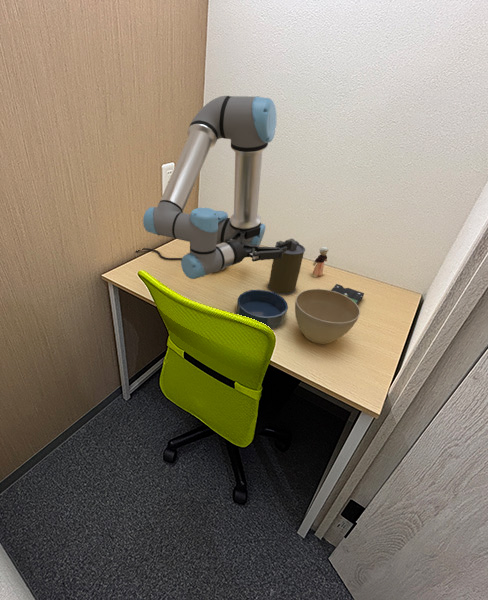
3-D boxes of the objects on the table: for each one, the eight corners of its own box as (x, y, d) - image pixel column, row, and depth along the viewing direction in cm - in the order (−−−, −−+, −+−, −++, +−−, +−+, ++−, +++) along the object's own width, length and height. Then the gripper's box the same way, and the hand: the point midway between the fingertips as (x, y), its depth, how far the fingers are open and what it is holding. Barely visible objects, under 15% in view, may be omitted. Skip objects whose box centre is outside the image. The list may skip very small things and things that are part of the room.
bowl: (229, 320, 114) (230, 308, 111) (244, 296, 126) (246, 285, 123) (278, 335, 107) (281, 323, 104) (289, 308, 119) (292, 297, 117)
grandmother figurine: (316, 279, 136) (324, 251, 129) (308, 276, 138) (315, 248, 131) (326, 273, 140) (334, 245, 133) (317, 270, 143) (325, 242, 135)
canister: (301, 290, 130) (313, 242, 118) (282, 298, 125) (293, 249, 114) (279, 278, 137) (289, 232, 126) (261, 285, 132) (269, 238, 121)
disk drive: (333, 289, 130) (320, 306, 121) (335, 283, 129) (322, 299, 119) (362, 299, 125) (350, 317, 115) (364, 292, 123) (352, 310, 114)
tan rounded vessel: (357, 335, 107) (369, 304, 101) (332, 364, 97) (344, 331, 90) (305, 311, 118) (313, 282, 111) (277, 335, 107) (284, 304, 101)
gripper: (201, 250, 114) (246, 235, 124) (254, 282, 97) (302, 261, 107) (202, 229, 110) (249, 215, 119) (258, 258, 93) (307, 240, 103)
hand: (274, 237), depth 113 cm, fingers open, 13 cm apart
